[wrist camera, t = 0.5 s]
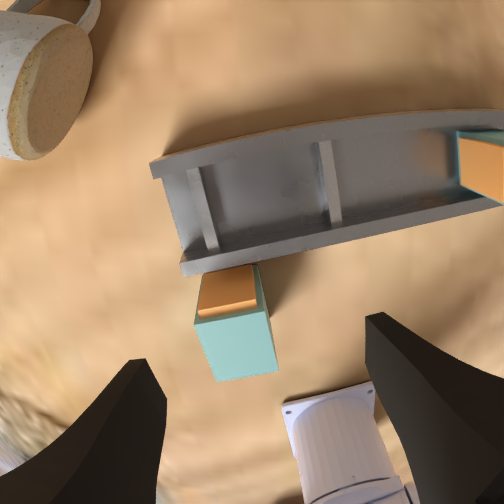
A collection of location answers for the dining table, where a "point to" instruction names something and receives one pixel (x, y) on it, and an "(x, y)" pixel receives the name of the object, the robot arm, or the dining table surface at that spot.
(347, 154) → the rail
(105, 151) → the dining table surface
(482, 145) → the teal orange box
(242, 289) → the teal and orange block
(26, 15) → the ceramic mug
